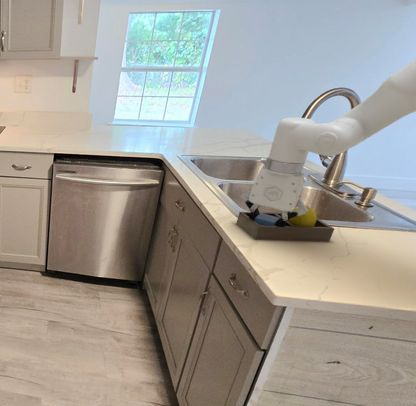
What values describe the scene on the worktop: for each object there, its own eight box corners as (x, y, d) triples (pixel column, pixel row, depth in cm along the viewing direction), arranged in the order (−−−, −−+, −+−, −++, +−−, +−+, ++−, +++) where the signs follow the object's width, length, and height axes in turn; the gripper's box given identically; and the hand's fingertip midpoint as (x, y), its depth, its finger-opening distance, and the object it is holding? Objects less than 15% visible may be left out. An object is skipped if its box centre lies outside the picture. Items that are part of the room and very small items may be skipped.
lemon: (298, 238, 99) (308, 211, 96) (280, 228, 104) (288, 203, 101) (316, 236, 100) (326, 209, 97) (296, 227, 105) (306, 201, 102)
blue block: (275, 232, 103) (280, 218, 101) (270, 237, 100) (274, 222, 98) (256, 226, 106) (260, 212, 104) (250, 231, 104) (255, 217, 102)
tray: (328, 243, 97) (334, 228, 96) (254, 241, 100) (258, 226, 98) (303, 227, 106) (308, 213, 104) (235, 225, 108) (239, 211, 106)
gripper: (241, 162, 100) (225, 221, 107) (323, 177, 87) (299, 243, 94) (251, 157, 104) (235, 214, 111) (331, 170, 91) (307, 234, 98)
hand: (265, 227), depth 102 cm, fingers open, 5 cm apart
